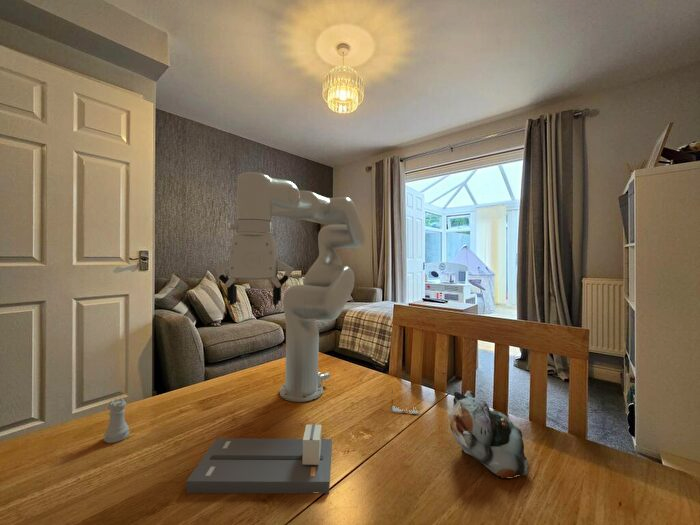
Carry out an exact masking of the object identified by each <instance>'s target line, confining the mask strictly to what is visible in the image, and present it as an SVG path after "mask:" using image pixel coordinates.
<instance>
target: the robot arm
mask: <svg viewBox="0 0 700 525" xmlns="http://www.w3.org/2000/svg"><path fill="white" fill-rule="evenodd" d="M236 182H237V184H236V186H237V187H236V191H237V192H236V196H237V197H236V199H237V200H236V205H237V206H236V212H237V213H236V218H237V219H236V221H235V223H230V229H231V230H232V231H233V230H234V231H235V232H236V234H233V235H232V238H231V244H230V251H229V252H230V253H229V259H228V261H226V262H223V263H222V264H219V265H217V266H215V267H214V271H215V272H216V275H217V276H218V278H219V280H220V281H221V283H223V284H224V285H225V287H226V289H227V291H226V296H227V297H226V300H227V301H228V304H229V306H233V305H235V304H236V303H238V298H237V297H238V293H237V292H238V287H237V285H236V283H237V282H238V281H239V280H270V282H272V283H273V285H274V287H273V288H272V305H273V306H277V305H278V304H279V301H280V302H281V300H282V306H283V313H284V318H285V319H284V320H285V370H284V371H285V375H284V377H285V378H284V379H285V383H284V384H283V385H281V386H280V388H279V395H280V397H281V398H282V399H284V400H286V401H287V402H294V403H302V402H303V403H305V402H309V401H314V400H316V399H317V398H319V397H321V396H322V395H323V393H324V386H323V385H322V382H324V381H325V380H326V381H327V380H328V379H330V378H331V374H330V373H329V372H324V373H321V371H319V348H320V347H319V346H320V345H319V344H320V332H319V328H318V325H317V324H316V322H315V320H317V321H325V322H327V321H328V322H331V321H332V322H333V321H334V320H336V319H338V318H339V316H340V315H341V313H342V311H343V310H344V308H345V306H346V304H347V302H348V301H349V299H350V297H351V294H352V293H353V290H354V287H355V273H354V270H353V269H352V268H351V267H350V266H349V265H345V264H343V263H342V261H343V260H342V258H341V257H340V255H339V253H338V252H337V251H336V249H337V250H342V249H343V250H347V249H348V250H356V249H361V248H362V247H363V246H364V245H365V242H366V232H365V228H364V226H363V222H362V219H361V217H360V212H359V211H358V209H357V207H356V205H355V202H353V200H352V199H351V198H350V197H347V196H343V197H338V196H337V197H326V196H324V195H323V196H322V195H320V194H317V193H316V192H313V191H311V190H299V188H298V187H297V185H296V184H295V183H293V182H292V181H291V180H288V179H282V178H274V177H270V176H269V175H268V174H265V173H262V172H254V171H253V172H252V171H247V172H246V171H245V172H242V173H240V174H239V175H238V176H237V181H236ZM273 217H279V218H284V219H285V218H286V219H290V220H291V219H293V220H299V221H300V220H303V221H307V222H312V223H317V224H320V225H321V224H322V225H324V226H323V227H322V228H320V230H319V232H318V235H317V241H318V242H317V243H318V244H317V245H318V257H317V259H316V260H315V261H314V262H313V263H312V265H311V266H310V267H309V269H308V271H307V272H306V273H305V276H304V278H303V284H296V285H291V286H290V287H289V288H287V289H286V291H285V292H284V294H283V298H282V286H283V285H284V284H285V283H286V282H287V281H289V278H290V277H291V275H292V273H293V272H294V268H293V267H292V266H290V265H288V264H286V263H284V262H283V261H280V260H279V259H278V250H277V247H278V246H277V242H276V236H275V235H273V225H272V224H273ZM325 225H326V226H325ZM279 268H280V269H282V270H283V271H284V272H285V273H284V275H283V276H282V277H281V278H279V277H278V274H279ZM226 269H228V275H229V276H228V275H226V273H225V270H226ZM321 394H322V395H321ZM313 399H314V400H313Z"/></svg>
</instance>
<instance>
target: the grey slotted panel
mask: <svg viewBox="0 0 700 525" xmlns="http://www.w3.org/2000/svg"><path fill="white" fill-rule="evenodd" d="M332 447H333V439H332V438H321V452H320V461H319V465H302V462H303V438H248V437H247V438H245V437H244V438H241V437H239V438H237V437H235V438H234V437H233V438H232V437H231V438H229V437H228V438H227V437H226V438H225V437H216V438H215V439H214V441H213V442H212V444H211V445H210V447H209V448H208V450H207V451H206V452H205V453H204V455H203V457H202V458H201V459H200V461H199V463H198V464H197V465H196V467H195V468H194V469H193V471H192V472H191V474H190V475H189V477H188V478H187V479H186V481H185V482H186V484H185V487H186V488H185V489H186V490H185V493H186V494H314V493H313V492H319V493H318V494H330V487H331V485H330V484H331V483H330V482H331V469H332V468H331V467H332V449H333V448H332Z"/></svg>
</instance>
